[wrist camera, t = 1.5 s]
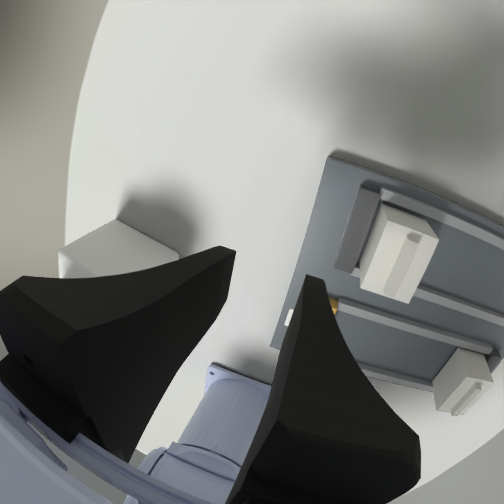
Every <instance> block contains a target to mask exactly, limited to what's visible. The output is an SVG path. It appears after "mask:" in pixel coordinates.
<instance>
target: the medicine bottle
mask: <svg viewBox="0 0 504 504" xmlns="http://www.w3.org/2000/svg"><path fill="white" fill-rule="evenodd" d="M176 260H179V254H178V253H177V252H176V251H174V250H172V249H170V248H168V247H166V246H164V245H162V244H161V243H159V242H157V241H155V240H153V239H151V238H149V237H148V236H146V235H144V234H142V233H140V232H138V231H137V230H135V229H133V228H131V227H129V226H128V225H126V224H124V223H122V222H120V221H118V220H116V219H115V220H113V221H111V222H109V223H107V224H105V225H103V226H101V227H99V228H98V229H96V230H94V231H92V232H90V233H88V234H87V235H85V236H83V237H81V238H79V239H78V240H76V241H74V242H72V243H71V244H69V245H67V246H65V247H64V248H62V249H60V250H59V252H58V261H59V278H92V277H101V276H110V275H118V274H125V273H130V272H135V271H140V270H144V269H148V268H152V267H156V266H159V265H162V264H166V263H169V262H173V261H176Z"/></svg>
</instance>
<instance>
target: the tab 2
mask: <svg viewBox="0 0 504 504" xmlns="http://www.w3.org/2000/svg"><path fill="white" fill-rule="evenodd" d="M432 383H433V389H434V396H435V403H436V411H442V412H448V413H451V415H452V416H458V415H459V414H461V415H464V414H465V413H466V412H467V411H468V410H469V409H470V408H471V407H472V406H473V405H474V404H475V403H476V401H477V400H478V399H479V398H480V397H481V396H482V395H483V394H484V393H485V392H486V391H487V389H488V388H489V387H490V386H491V385H492V384H493V383H494V382H493V379H492V376H491V373H490V370H489V367H488V365H487V362H486V359H485V356H484V354H480V353H476V352H473V351H469V350H465V349H462V348H457V350H456V351H455V353H454V354H453V355H452V357H451V358H450V359H449V361H448V362H447V363H446V365H445V366H444V367H443V369H442V370H441V371H440V372H439V374H438V375H437V376H436V377H435V379H434V380H433V381H432Z"/></svg>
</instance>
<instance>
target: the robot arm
mask: <svg viewBox="0 0 504 504" xmlns="http://www.w3.org/2000/svg"><path fill="white" fill-rule="evenodd" d="M235 255H236V251H235V250H232V249H229V248H226V247H223V246H217V247H213V248H210V249H207V250H205V251H202V252H199V253H196V254H193V255H190V256H188V257H185V258H182V259H179V260H176V261H173V262H169V263H166V264H162V265H159V266H156V267H152V268H148V269H144V270H140V271H135V272H130V273H125V274H118V275H110V276H101V277H92V278H44V277H31V276H22V277H20V278H19V279H17V280H16V281H14V282H13V283H11V284H10V285H8V286H7V287H5V288H4V289H2V290H1V291H0V335H1V338H2V340H3V342H4V344H5V347H6V349H7V351H8V353H9V354H8V355H7V356H6V357H5V358H3V359H2V360H1V361H0V504H113V503H112V502H110V501H109V500H107V499H105V498H104V497H102V496H101V495H99V494H98V493H96V492H95V491H93V490H91V489H90V488H89V487H87V486H85V485H84V484H83V483H81V482H80V481H79V480H77V479H75V478H74V477H73V476H72V475H70V474H69V473H67V470H68V469H67V466H66V465H65V464H63V462H62V461H60V460H59V458H58V457H57V456H56V455H55V454H54V453H53V452H52V451H51V450H50V449H49V447H48V446H47V445H46V443H45V442H44V440H43V439H42V438H41V437H40V436H39V435H38V434H37V433H36V432H35V431H34V430H33V429H32V428H31V427H30V426H29V425H28V423H27V421H28V422H29V423H30V424H31V425H32V426H33V427H34V428H36V429H37V430H38V431H39V432H40V433H41V434H42V435H43V436H45V437H46V438H47V439H48V440H49V441H51V442H52V443H53V444H54V445H55V446H57V447H58V448H59V449H60V450H62V451H63V452H64V453H66V454H67V455H68V456H70V457H71V458H72V459H74V460H75V461H76V462H78V463H79V464H80V465H82V466H83V467H85V468H86V469H88V470H89V471H91V472H92V473H93V474H95V475H96V476H98V477H100V478H101V479H103V480H104V481H106V482H107V483H109V484H111V485H112V486H114V487H116V488H117V489H119V490H121V491H122V492H124V493H126V494H128V495H127V497H126V500H125V501H124V504H386V503H388V502H390V501H392V500H394V499H396V498H398V497H399V496H401V495H403V494H405V493H406V492H407V491H409V490H410V489H412V488H413V487H414V486H415V485H416V484H417V483H418V481H419V479H420V478H421V449H420V440H419V436H418V435H417V434H416V433H415V432H414V431H413V430H412V429H411V428H410V427H409V426H408V425H407V424H406V423H405V422H404V421H403V420H402V419H401V418H400V417H399V416H398V415H397V414H396V413H395V412H394V411H393V410H392V409H391V408H390V406H389V405H388V404H387V403H386V402H385V401H384V399H383V398H382V397H381V396H380V395H379V393H378V392H377V391H376V389H375V388H374V387H373V386H372V384H371V383H370V381H369V380H368V379H367V377H366V376H365V374H364V373H363V371H362V370H361V368H360V367H359V365H358V364H357V362H356V360H355V359H354V357H353V355H352V353H351V352H350V350H349V348H348V346H347V344H346V342H345V340H344V338H343V335H342V333H341V331H340V328H339V326H338V323H337V321H336V318H335V315H334V312H333V309H332V306H331V303H330V300H329V296H328V292H327V288H326V283H325V281H324V280H323V279H320V278H317V277H314V276H311V275H308V274H306V276H305V279H304V282H303V285H302V288H301V291H300V294H299V297H298V300H297V302H296V305H295V308H294V311H293V314H292V317H291V319H290V322H289V325H288V328H287V331H286V334H285V336H284V339H283V342H282V346H281V350H280V354H279V358H278V362H277V366H276V370H275V375H274V379H273V383H272V386H270V385H267V384H264V383H261V382H258V381H255V380H253V379H250V378H247V377H244V376H242V375H239V374H236V373H234V372H231V371H229V370H226V369H223V368H221V367H218V366H216V365H210V366H209V367H208V372H207V379H206V385H205V392H204V397H203V399H202V400H201V402H200V404H199V406H198V407H197V409H196V411H195V413H194V414H193V416H192V418H191V420H190V421H189V423H188V425H187V427H186V428H185V430H184V432H183V433H182V435H181V437H180V439H179V440H178V442H177V443H175V442H172V443H171V445H170V447H169V448H168V449H166V448H164V447H160V448H158V449H154V450H152V451H151V452H150V453H149V454H148V455H147V456H146V457H145V459H144V460H143V461H142V463H141V464H140V466H139V468H138V469H136V468H135V467H132V466H131V465H129V464H128V463H129V461H130V459H131V456H132V454H133V452H134V450H135V448H136V446H137V444H138V442H139V440H140V438H141V436H142V434H143V432H144V430H145V428H146V426H147V424H148V422H149V421H150V419H151V417H152V415H153V413H154V411H155V409H156V408H157V406H158V404H159V402H160V400H161V399H162V397H163V395H164V393H165V392H166V390H167V388H168V386H169V385H170V383H171V381H172V380H173V378H174V376H175V375H176V373H177V371H178V370H179V368H180V367H181V365H182V364H183V362H184V361H185V360H186V358H187V357H188V356H189V355H190V353H191V352H192V351H193V349H194V348H195V347H196V345H197V344H198V343H199V341H200V340H201V339H202V337H203V336H204V335H205V333H206V332H207V331H208V329H209V328H210V327H211V325H212V324H213V323H214V321H215V320H216V318H217V316H218V315H219V313H220V311H221V309H222V307H223V305H224V304H225V302H226V300H227V297H228V292H229V286H230V281H231V276H232V271H233V265H234V260H235Z"/></svg>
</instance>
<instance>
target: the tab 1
mask: <svg viewBox="0 0 504 504" xmlns="http://www.w3.org/2000/svg"><path fill="white" fill-rule="evenodd" d="M438 242H439V239H438V237H437V236H436V234H435V233H434V231H433V230H432V228H431V227H430V225H429V224H428V222H427V221H426V220H425V219H422V218H420V217H417V216H414V215H412V214H409V213H407V212H404V211H401V210H398V209H396V208H393V207H390V206H388V205H385V204H382V203H381V206H380V209H379V212H378V214H377V217H376V220H375V223H374V226H373V228H372V231H371V234H370V237H369V239H368V242H367V245H366V247H365V250H364V252H363V255H362V257H361V260H360V288H361V289H364V290H367V291H370V292H373V293H377V294H380V295H383V296H386V297H389V298H392V299H395V300H398V301H401V302H404V303H407V304H409V302H410V300H411V298H412V296H413V294H414V292H415V290H416V288H417V286H418V284H419V282H420V280H421V278H422V276H423V274H424V272H425V270H426V268H427V266H428V264H429V262H430V260H431V257H432V255H433V253H434V251H435V248H436V246H437V244H438Z"/></svg>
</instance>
